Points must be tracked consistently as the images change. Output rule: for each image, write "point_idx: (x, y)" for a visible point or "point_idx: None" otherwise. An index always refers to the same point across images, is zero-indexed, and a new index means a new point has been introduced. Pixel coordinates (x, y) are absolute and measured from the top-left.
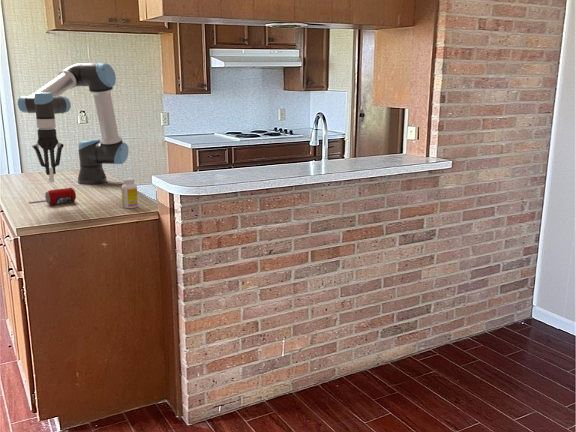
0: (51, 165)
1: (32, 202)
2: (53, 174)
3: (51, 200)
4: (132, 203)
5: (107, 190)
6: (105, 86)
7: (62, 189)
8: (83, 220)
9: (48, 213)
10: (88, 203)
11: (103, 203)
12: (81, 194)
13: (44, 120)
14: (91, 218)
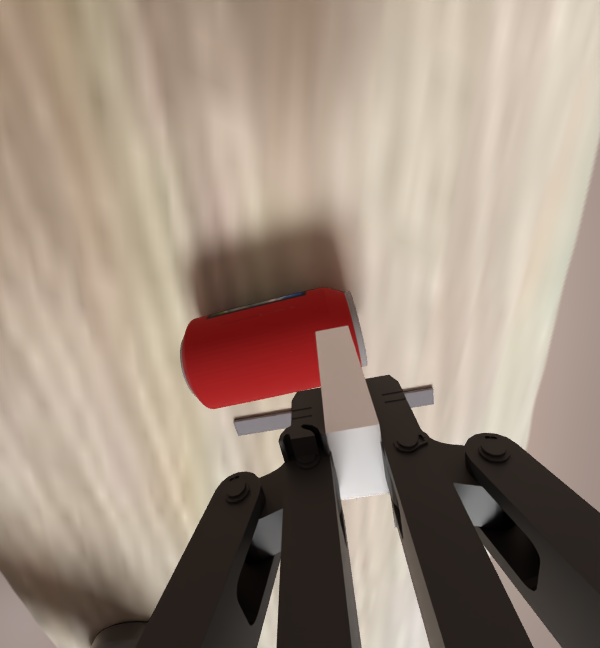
0: (340, 502)
1: (417, 391)
2: (320, 372)
3: (336, 290)
4: None
5: (64, 518)
6: None
7: (256, 362)
8: None
9: (379, 48)
10: (126, 269)
11: (30, 232)
12: (179, 483)
13: None
14: None
